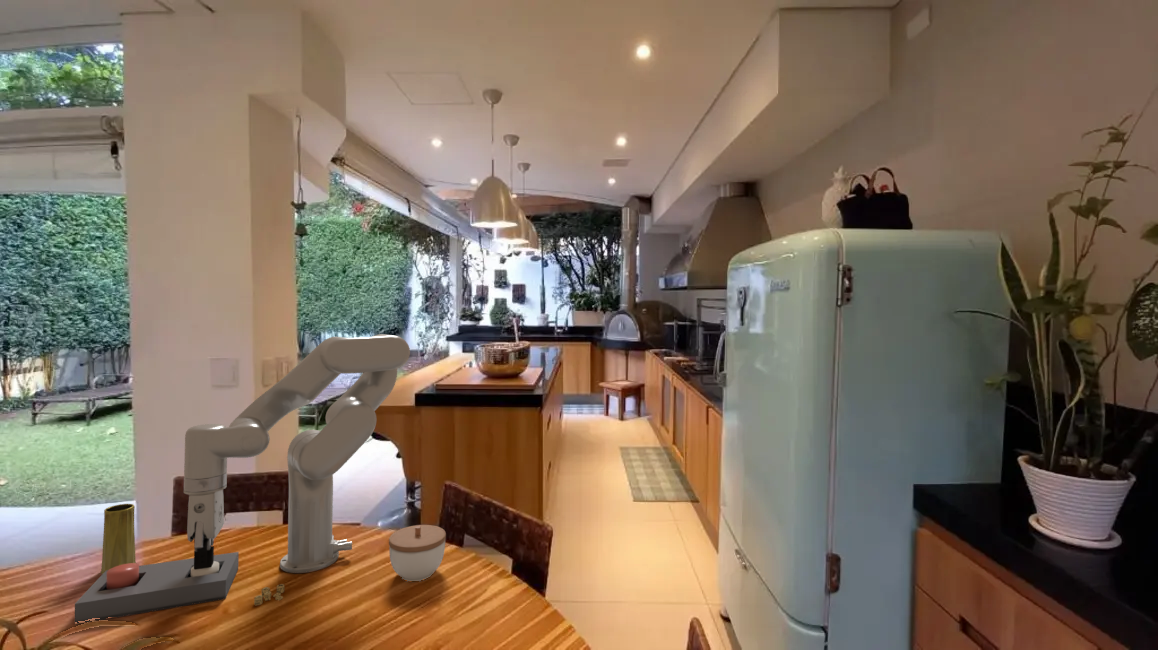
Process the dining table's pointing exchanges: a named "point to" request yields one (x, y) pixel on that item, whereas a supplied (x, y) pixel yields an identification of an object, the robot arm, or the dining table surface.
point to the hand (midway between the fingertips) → (203, 566)
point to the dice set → (269, 594)
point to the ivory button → (205, 570)
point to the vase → (118, 536)
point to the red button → (123, 576)
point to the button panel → (158, 589)
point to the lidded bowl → (417, 551)
